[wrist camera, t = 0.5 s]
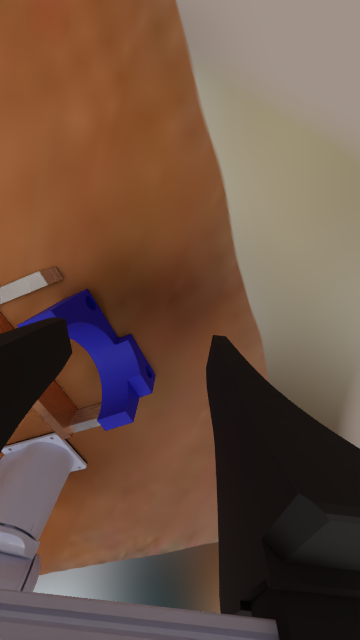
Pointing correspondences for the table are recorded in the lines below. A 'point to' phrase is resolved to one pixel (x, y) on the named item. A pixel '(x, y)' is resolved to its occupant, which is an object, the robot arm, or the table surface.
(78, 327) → the cable clip
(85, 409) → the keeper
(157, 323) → the table surface
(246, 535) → the robot arm
